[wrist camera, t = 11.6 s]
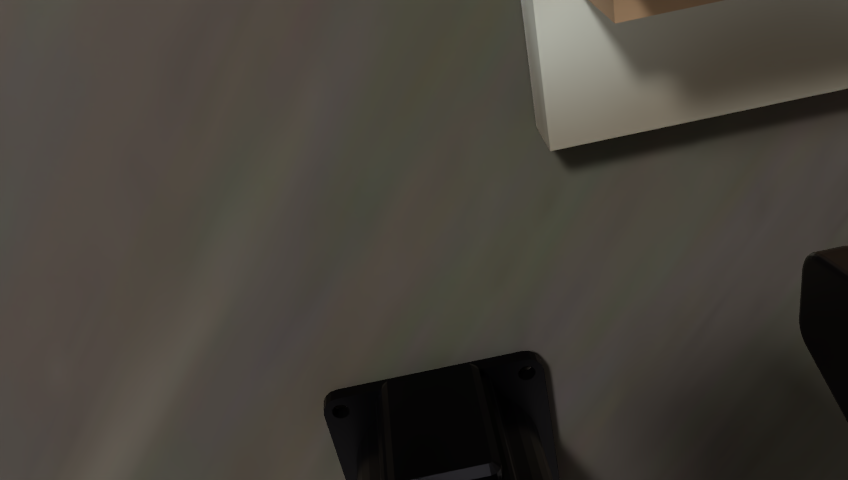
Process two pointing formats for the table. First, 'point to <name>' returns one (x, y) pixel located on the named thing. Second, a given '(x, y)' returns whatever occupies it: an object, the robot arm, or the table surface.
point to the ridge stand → (675, 61)
